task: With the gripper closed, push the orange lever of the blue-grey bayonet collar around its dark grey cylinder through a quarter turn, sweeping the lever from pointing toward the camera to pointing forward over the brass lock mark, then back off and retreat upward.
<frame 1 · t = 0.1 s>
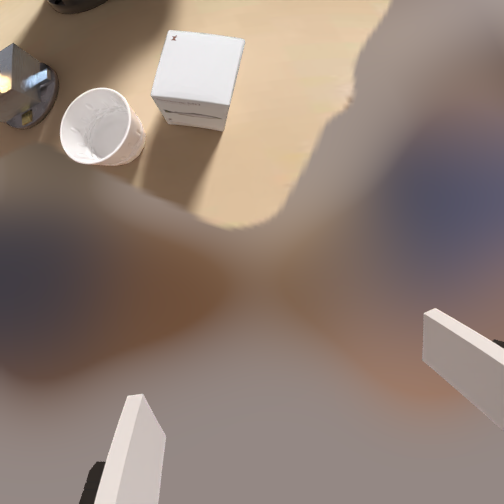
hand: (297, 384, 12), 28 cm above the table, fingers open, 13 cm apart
white cup: (121, 140, 35), on the table
dark grey cylinder: (31, 96, 31), on the table
supplement box: (201, 102, 35), on the table
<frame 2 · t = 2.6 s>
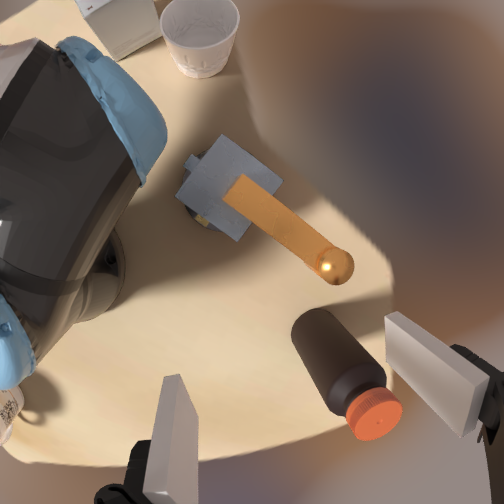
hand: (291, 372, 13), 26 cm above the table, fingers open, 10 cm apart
white cup: (201, 57, 33), on the table
mug: (5, 392, 38), on the table
bottle: (313, 329, 42), on the table
collar: (256, 208, 28), point 9 cm above the table, hinge at 0.0°
dark grey cylinder: (224, 188, 36), on the table
supplement box: (130, 32, 31), on the table
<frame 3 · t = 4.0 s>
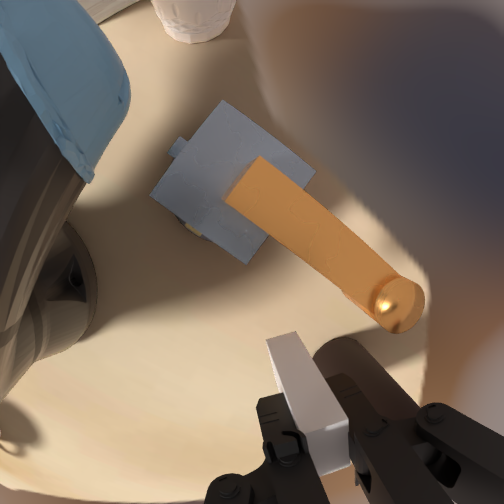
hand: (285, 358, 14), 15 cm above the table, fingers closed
white cup: (196, 18, 23), on the table
bottle: (335, 361, 32), on the table
collar: (273, 212, 19), point 9 cm above the table, hinge at 0.0°
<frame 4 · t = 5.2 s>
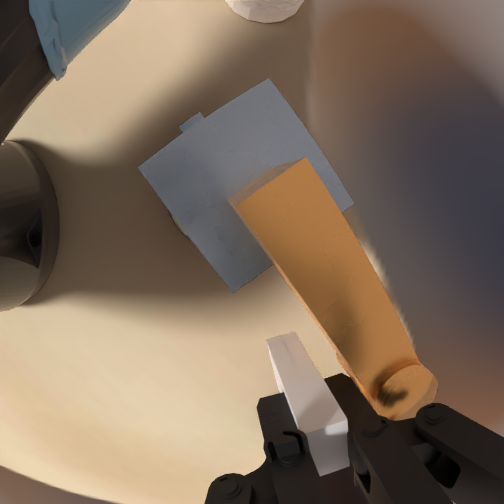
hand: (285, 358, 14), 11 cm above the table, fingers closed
bottle: (291, 411, 28), on the table
collar: (285, 237, 15), point 9 cm above the table, hinge at 0.5°, touching gripper
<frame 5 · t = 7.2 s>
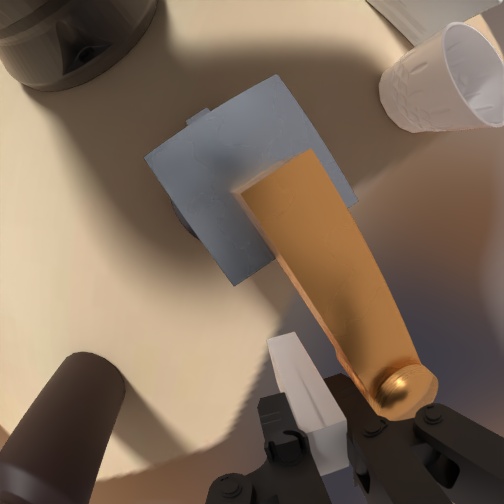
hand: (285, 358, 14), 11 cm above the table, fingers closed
white cup: (406, 99, 23), on the table
bottle: (94, 379, 25), on the table
collar: (288, 233, 14), point 9 cm above the table, hinge at 51.9°, touching gripper
supplement box: (404, 11, 21), on the table
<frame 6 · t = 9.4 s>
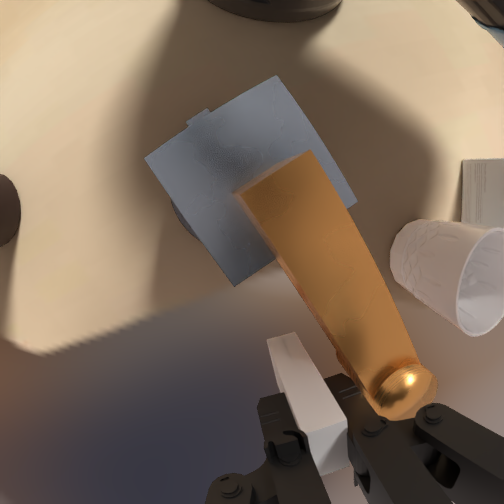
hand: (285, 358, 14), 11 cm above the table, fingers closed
white cup: (416, 254, 26), on the table
collar: (288, 233, 15), point 9 cm above the table, hinge at 100.8°, touching gripper
supplement box: (480, 196, 26), on the table
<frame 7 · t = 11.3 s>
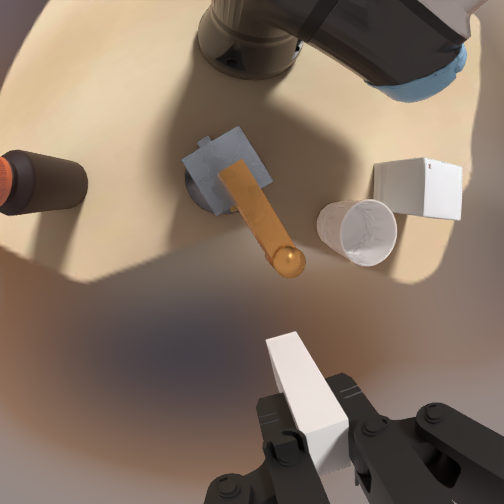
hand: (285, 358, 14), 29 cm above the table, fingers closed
white cup: (336, 224, 44), on the table
bottle: (69, 184, 38), on the table
collar: (242, 195, 32), point 9 cm above the table, hinge at 100.8°
dark grey cylinder: (223, 176, 41), on the table
supplement box: (391, 189, 44), on the table
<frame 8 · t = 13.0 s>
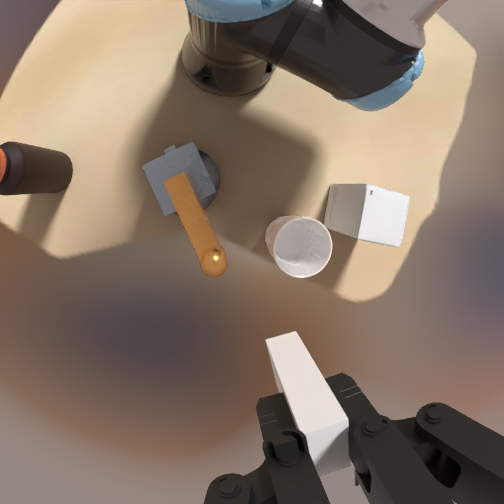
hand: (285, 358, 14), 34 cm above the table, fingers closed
white cup: (285, 236, 49), on the table
bottle: (57, 172, 42), on the table
collar: (189, 201, 37), point 9 cm above the table, hinge at 100.8°
dark grey cylinder: (185, 181, 45), on the table
supplement box: (345, 209, 49), on the table
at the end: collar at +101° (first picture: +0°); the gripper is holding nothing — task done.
